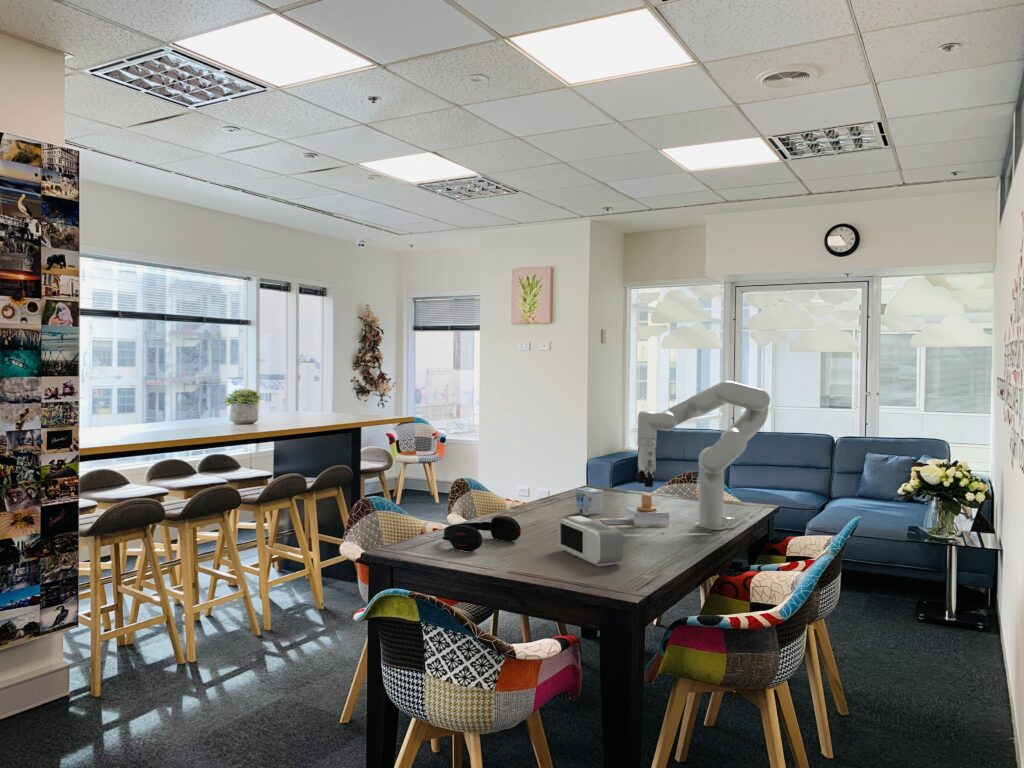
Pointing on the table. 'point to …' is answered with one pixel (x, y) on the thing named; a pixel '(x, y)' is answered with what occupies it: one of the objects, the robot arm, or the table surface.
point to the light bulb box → (589, 501)
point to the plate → (639, 519)
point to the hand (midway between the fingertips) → (645, 485)
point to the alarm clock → (591, 540)
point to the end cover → (646, 503)
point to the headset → (471, 538)
